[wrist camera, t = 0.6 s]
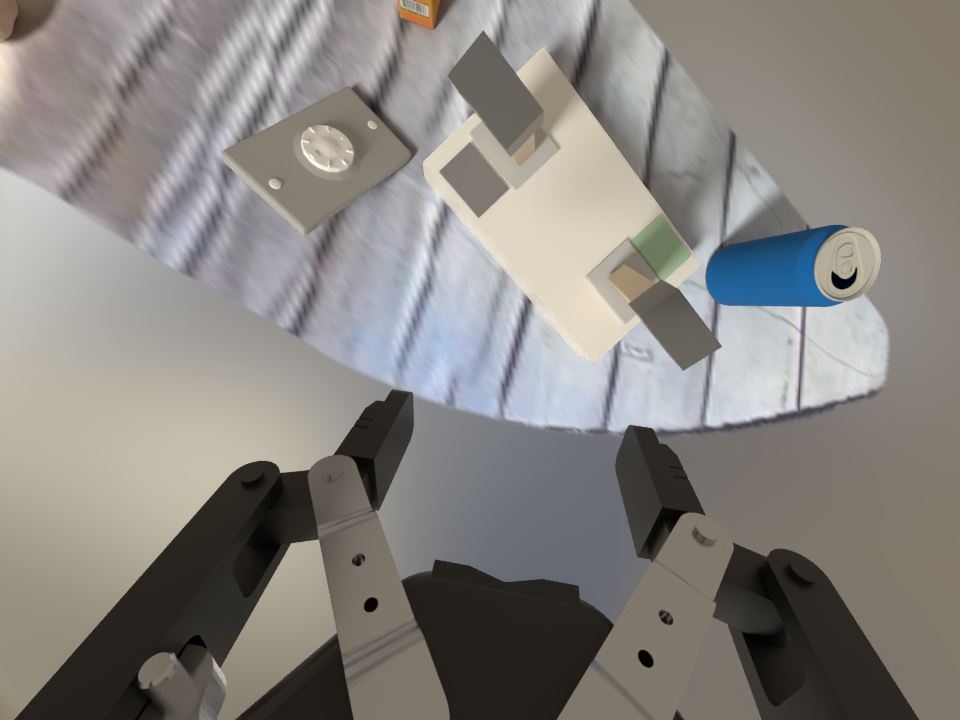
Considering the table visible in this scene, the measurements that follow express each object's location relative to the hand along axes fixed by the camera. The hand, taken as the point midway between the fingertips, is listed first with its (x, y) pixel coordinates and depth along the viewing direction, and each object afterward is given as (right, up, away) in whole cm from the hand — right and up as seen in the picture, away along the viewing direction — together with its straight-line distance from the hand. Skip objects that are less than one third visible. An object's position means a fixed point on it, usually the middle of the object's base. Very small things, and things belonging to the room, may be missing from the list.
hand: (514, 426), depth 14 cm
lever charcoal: (+1, +21, +16) cm, 26 cm away
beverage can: (+26, +12, +26) cm, 39 cm away
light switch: (-15, +20, +20) cm, 32 cm away
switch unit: (+7, +16, +23) cm, 29 cm away
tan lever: (+12, +9, +19) cm, 25 cm away
